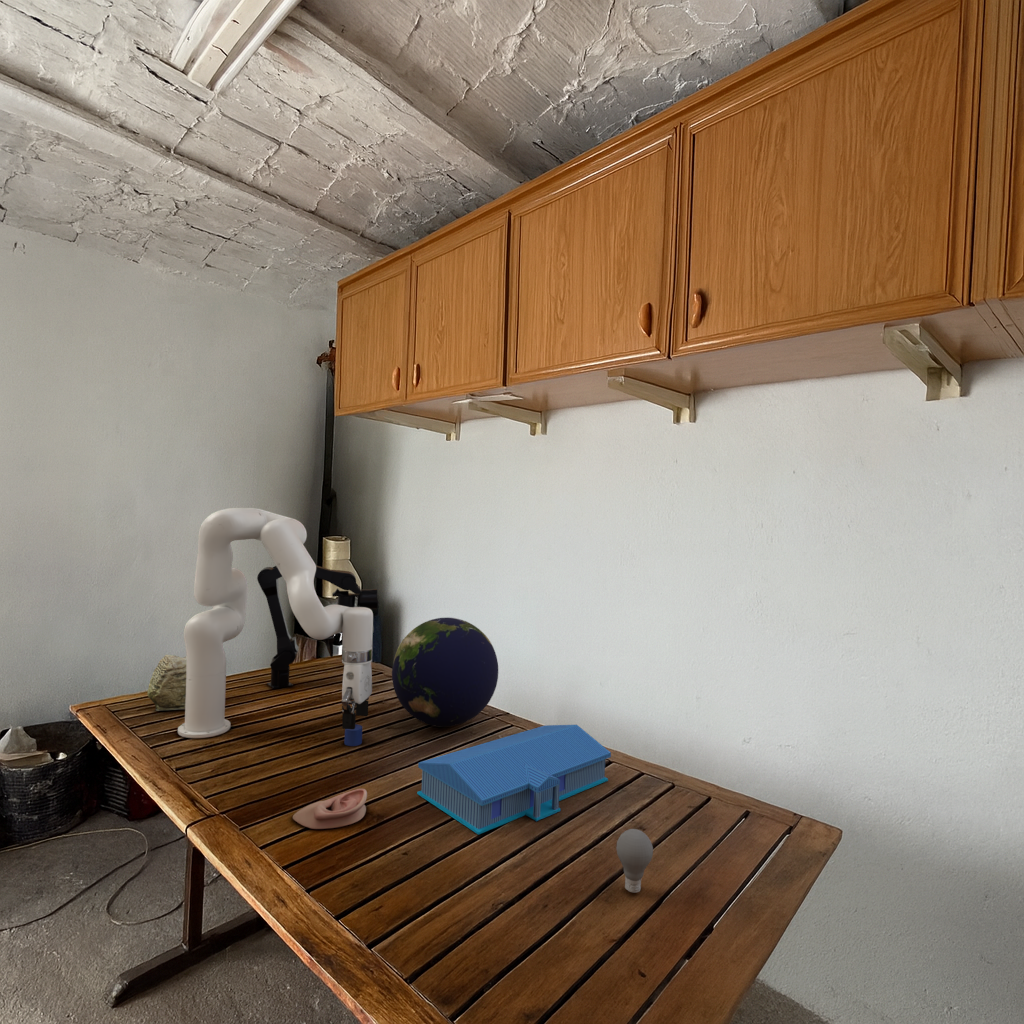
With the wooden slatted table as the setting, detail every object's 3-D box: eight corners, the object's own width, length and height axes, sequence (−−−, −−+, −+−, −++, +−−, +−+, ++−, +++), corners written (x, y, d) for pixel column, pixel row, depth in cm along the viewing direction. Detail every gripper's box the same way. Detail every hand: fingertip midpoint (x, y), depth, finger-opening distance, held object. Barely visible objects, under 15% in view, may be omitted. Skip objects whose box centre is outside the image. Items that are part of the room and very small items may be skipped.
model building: (489, 841, 119) (491, 789, 119) (416, 793, 137) (417, 747, 137) (619, 785, 145) (621, 742, 145) (543, 750, 163) (545, 712, 163)
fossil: (144, 707, 182) (145, 655, 182) (212, 696, 194) (213, 647, 194) (151, 716, 175) (153, 662, 175) (221, 703, 188) (223, 653, 188)
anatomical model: (284, 804, 122) (315, 778, 133) (284, 824, 122) (314, 797, 133) (348, 814, 119) (374, 787, 130) (348, 835, 119) (373, 806, 130)
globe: (368, 731, 171) (372, 620, 171) (424, 700, 199) (427, 605, 198) (467, 752, 160) (472, 634, 160) (512, 716, 188) (516, 616, 187)
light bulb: (610, 879, 108) (613, 822, 108) (644, 879, 109) (647, 822, 109) (619, 902, 102) (622, 840, 102) (655, 901, 103) (658, 840, 103)
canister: (357, 747, 161) (358, 731, 161) (341, 745, 162) (342, 729, 162) (364, 740, 165) (365, 725, 165) (348, 738, 166) (349, 723, 166)
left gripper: (359, 665, 154) (358, 735, 154) (381, 649, 171) (380, 711, 172) (330, 663, 155) (328, 733, 155) (354, 647, 172) (353, 710, 172)
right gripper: (330, 615, 201) (328, 664, 202) (382, 610, 214) (380, 656, 214) (315, 609, 210) (313, 656, 210) (366, 605, 222) (365, 650, 222)
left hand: (355, 721), depth 163 cm, fingers open, 9 cm apart
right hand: (344, 655), depth 214 cm, fingers open, 9 cm apart
